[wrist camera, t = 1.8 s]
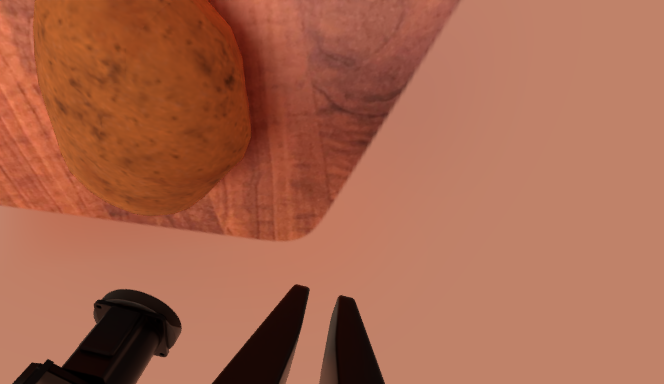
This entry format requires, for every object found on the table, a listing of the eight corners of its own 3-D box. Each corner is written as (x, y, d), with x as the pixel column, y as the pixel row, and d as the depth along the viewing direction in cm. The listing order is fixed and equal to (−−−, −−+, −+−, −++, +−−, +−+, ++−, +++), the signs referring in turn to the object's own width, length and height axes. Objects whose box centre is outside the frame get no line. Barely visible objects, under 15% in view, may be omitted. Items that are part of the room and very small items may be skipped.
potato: (307, 45, 17) (264, 83, 10) (229, 197, 22) (170, 281, 16) (131, -71, 15) (-48, -110, 9) (94, 126, 21) (-30, 188, 14)
